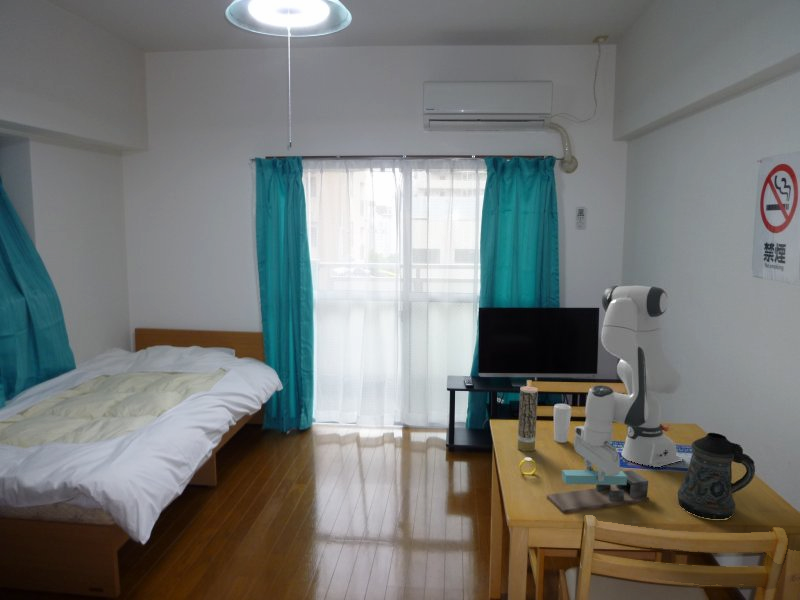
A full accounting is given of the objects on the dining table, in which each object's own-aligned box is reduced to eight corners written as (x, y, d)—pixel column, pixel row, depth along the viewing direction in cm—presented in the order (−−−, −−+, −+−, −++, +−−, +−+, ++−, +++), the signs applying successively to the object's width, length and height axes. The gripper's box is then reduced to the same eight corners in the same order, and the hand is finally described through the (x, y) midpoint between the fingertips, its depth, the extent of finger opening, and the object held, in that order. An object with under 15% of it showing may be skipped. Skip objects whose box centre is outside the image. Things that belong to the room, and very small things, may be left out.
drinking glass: (570, 439, 236) (572, 405, 233) (567, 445, 230) (569, 410, 227) (553, 436, 239) (555, 402, 236) (550, 442, 232) (552, 407, 230)
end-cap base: (629, 486, 196) (630, 468, 195) (648, 500, 186) (650, 482, 185) (546, 497, 187) (547, 479, 186) (563, 513, 178) (564, 493, 177)
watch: (520, 476, 202) (520, 461, 202) (518, 473, 205) (518, 457, 204) (537, 475, 202) (536, 460, 201) (535, 472, 205) (535, 456, 204)
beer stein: (669, 493, 191) (675, 423, 187) (729, 497, 189) (737, 426, 185) (688, 520, 175) (696, 443, 171) (754, 524, 173) (764, 447, 169)
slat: (621, 479, 187) (622, 470, 187) (626, 485, 183) (627, 476, 183) (561, 478, 187) (562, 469, 186) (565, 484, 183) (566, 475, 182)
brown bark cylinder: (534, 453, 222) (538, 392, 218) (517, 451, 223) (520, 390, 219) (534, 446, 228) (537, 386, 224) (517, 444, 229) (520, 385, 226)
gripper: (626, 448, 174) (623, 490, 176) (588, 424, 193) (585, 462, 195) (609, 450, 172) (605, 492, 174) (572, 425, 192) (569, 463, 194)
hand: (594, 476), depth 185 cm, fingers closed on slat, 5 cm apart
